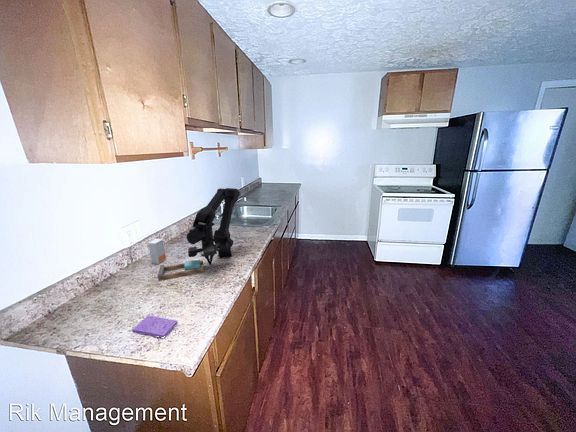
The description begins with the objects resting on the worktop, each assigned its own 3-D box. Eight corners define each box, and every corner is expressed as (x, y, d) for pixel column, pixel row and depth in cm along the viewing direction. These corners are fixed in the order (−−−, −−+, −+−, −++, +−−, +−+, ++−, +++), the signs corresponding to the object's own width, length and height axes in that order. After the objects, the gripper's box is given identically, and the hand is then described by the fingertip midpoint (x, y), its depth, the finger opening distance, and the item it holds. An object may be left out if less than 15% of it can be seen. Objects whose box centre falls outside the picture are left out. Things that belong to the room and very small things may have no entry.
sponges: (164, 340, 75) (163, 335, 75) (132, 333, 78) (131, 328, 78) (178, 324, 82) (177, 320, 81) (148, 318, 85) (147, 314, 84)
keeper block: (201, 266, 120) (200, 259, 119) (200, 271, 115) (199, 264, 114) (186, 268, 118) (185, 261, 117) (185, 273, 113) (184, 266, 112)
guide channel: (203, 263, 122) (202, 258, 121) (204, 272, 114) (203, 266, 113) (161, 270, 115) (160, 265, 115) (158, 280, 107) (157, 275, 106)
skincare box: (158, 264, 122) (154, 243, 118) (151, 263, 122) (147, 242, 119) (166, 259, 127) (163, 239, 124) (160, 258, 128) (156, 238, 124)
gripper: (186, 245, 104) (190, 276, 109) (228, 239, 110) (231, 268, 115) (186, 236, 114) (190, 265, 118) (225, 231, 120) (228, 258, 125)
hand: (210, 264), depth 119 cm, fingers closed
